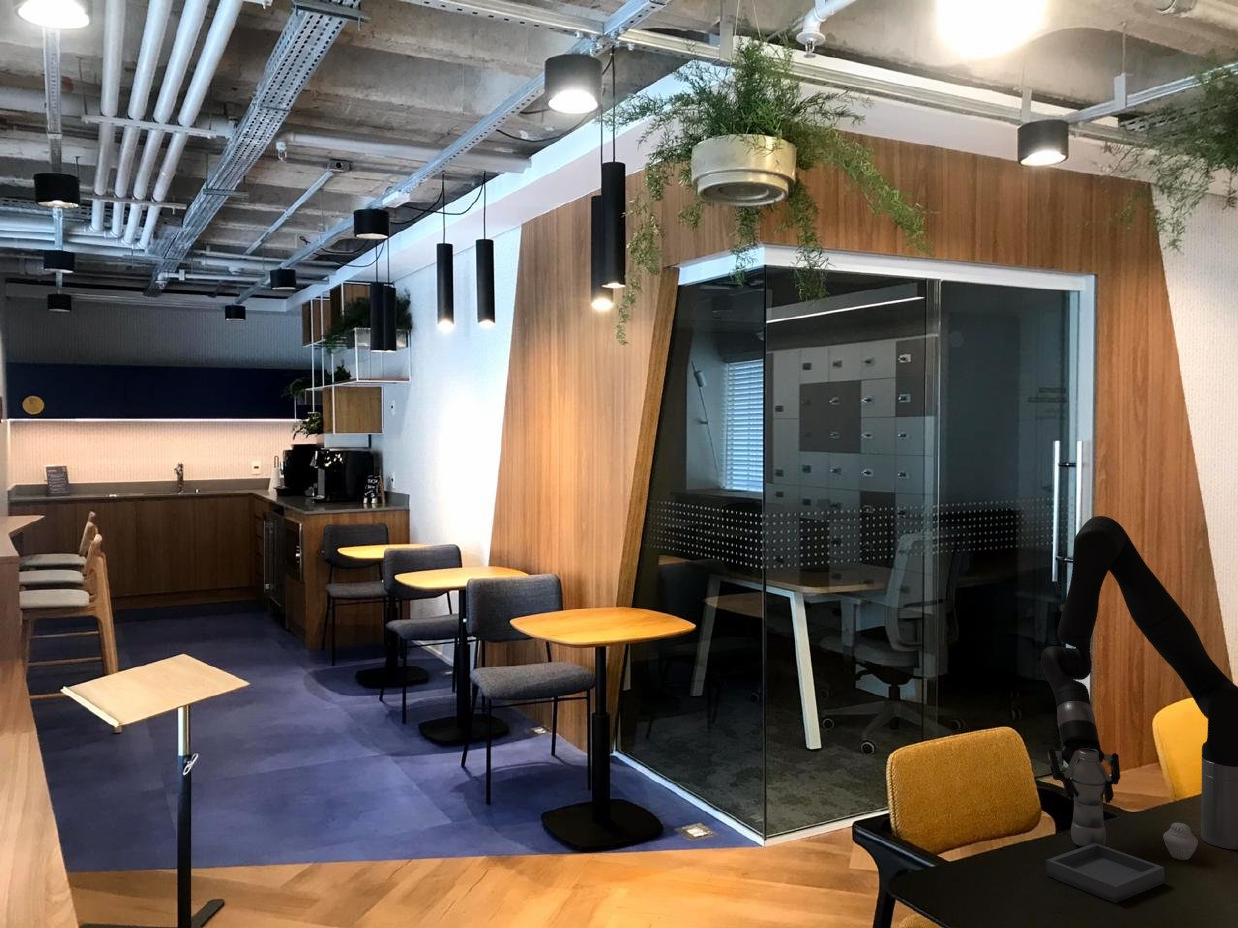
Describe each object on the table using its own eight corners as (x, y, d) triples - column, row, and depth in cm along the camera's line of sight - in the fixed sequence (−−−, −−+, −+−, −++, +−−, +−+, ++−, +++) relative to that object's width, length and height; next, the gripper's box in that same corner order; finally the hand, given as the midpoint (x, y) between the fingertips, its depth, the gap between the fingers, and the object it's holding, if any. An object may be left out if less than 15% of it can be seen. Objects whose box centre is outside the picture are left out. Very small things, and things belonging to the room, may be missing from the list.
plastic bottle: (1110, 853, 201) (1110, 756, 201) (1074, 851, 202) (1075, 754, 202) (1101, 841, 207) (1102, 747, 207) (1066, 839, 209) (1067, 745, 208)
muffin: (1157, 855, 200) (1157, 821, 200) (1171, 848, 204) (1171, 814, 204) (1189, 865, 195) (1189, 830, 195) (1203, 858, 199) (1203, 823, 199)
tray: (1095, 857, 199) (1095, 842, 199) (1164, 882, 187) (1164, 867, 187) (1046, 875, 191) (1046, 859, 191) (1115, 903, 179) (1115, 886, 179)
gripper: (1044, 716, 213) (1055, 788, 202) (1116, 720, 210) (1131, 794, 199) (1039, 733, 219) (1050, 805, 207) (1110, 738, 215) (1124, 810, 204)
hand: (1090, 799), depth 203 cm, fingers closed on plastic bottle, 6 cm apart
